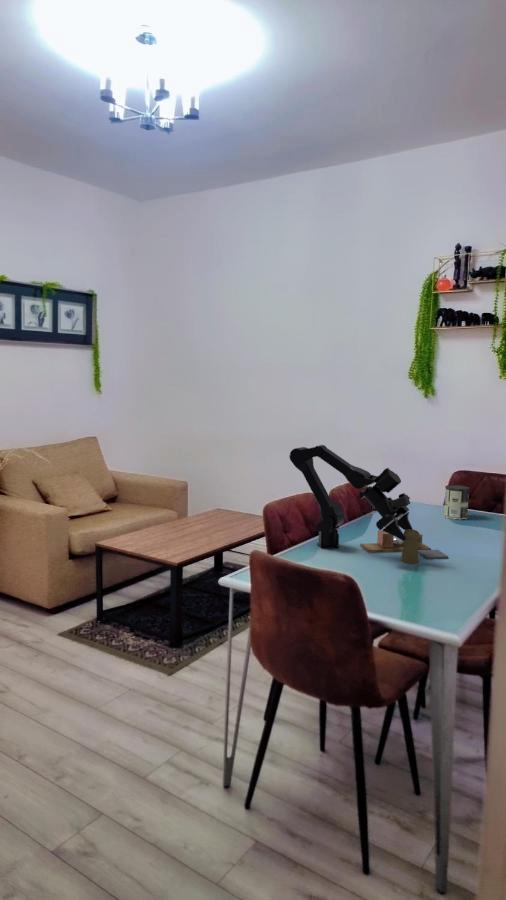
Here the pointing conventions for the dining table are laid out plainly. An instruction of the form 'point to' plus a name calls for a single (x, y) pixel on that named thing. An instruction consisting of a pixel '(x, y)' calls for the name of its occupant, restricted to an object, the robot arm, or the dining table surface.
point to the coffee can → (456, 502)
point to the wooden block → (387, 540)
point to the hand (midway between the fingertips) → (409, 537)
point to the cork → (410, 547)
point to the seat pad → (432, 554)
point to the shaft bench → (396, 548)
